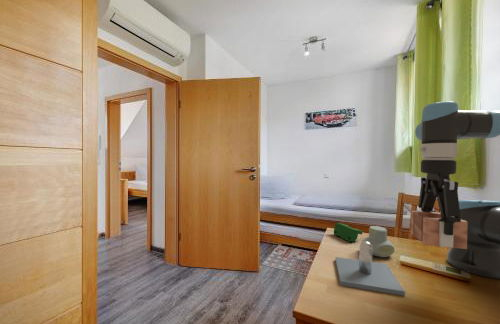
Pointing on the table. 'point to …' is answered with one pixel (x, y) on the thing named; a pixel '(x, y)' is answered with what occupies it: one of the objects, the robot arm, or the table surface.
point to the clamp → (346, 232)
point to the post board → (368, 277)
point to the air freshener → (379, 242)
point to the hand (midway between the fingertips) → (436, 239)
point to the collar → (436, 229)
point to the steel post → (365, 258)
